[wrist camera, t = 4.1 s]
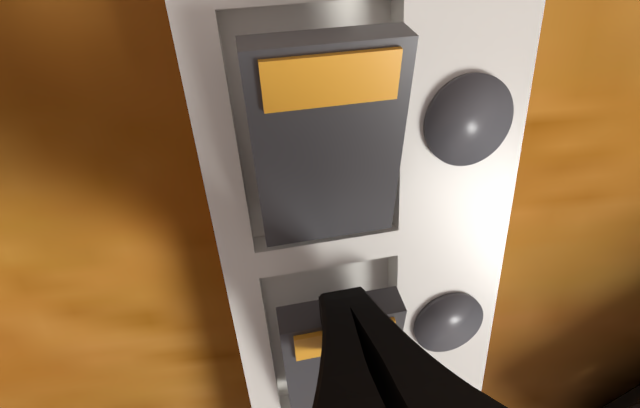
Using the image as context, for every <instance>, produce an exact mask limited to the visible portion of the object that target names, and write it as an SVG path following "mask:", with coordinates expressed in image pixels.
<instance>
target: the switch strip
mask: <svg viewBox="0 0 640 408" xmlns="http://www.w3.org/2000/svg"><path fill="white" fill-rule="evenodd" d="M165 4H166V9H167V13H168V18H169V23H170V27H171V32H172V37H173V41H174V46H175V51H176V55H177V60H178V65H179V70H180V74H181V79H182V84H183V88H184V93H185V98H186V102H187V107H188V112H189V116H190V121H191V126H192V130H193V135H194V140H195V145H196V149H197V154H198V159H199V163H200V168H201V173H202V177H203V182H204V187H205V191H206V196H207V201H208V205H209V210H210V215H211V220H212V224H213V229H214V234H215V238H216V243H217V248H218V252H219V257H220V262H221V266H222V271H223V276H224V280H225V285H226V290H227V295H228V299H229V304H230V309H231V313H232V318H233V323H234V327H235V332H236V337H237V341H238V346H239V351H240V355H241V360H242V365H243V370H244V374H245V379H246V384H247V388H248V393H249V398H250V402H251V407H252V408H291V407H290V400H289V394H288V387H287V381H286V374H285V368H284V361H283V354H282V348H281V341H280V335H279V328H278V320H277V313H276V307H280V306H286V305H292V304H297V303H303V302H308V301H314V300H319V298H318V297H319V296H320V295H321V294H322V293H327V292H333V291H338V290H344V289H350V288H355V287H362V288H363V289H364V290H365V291H370V290H375V289H381V288H387V287H392V286H396V287H397V289H398V291H399V294H400V296H401V298H402V301H403V303H404V305H405V307H406V310H407V313H406V318H405V323H404V328H403V331H404V332H405V333H406V334H407V335H408V336H409V337H410V338H411V339H413V340H414V341H415V342H416V343H417V344H418V345H419V346H420V347H422V348H423V349H424V350H425V351H426V352H427V353H429V354H430V355H431V356H432V357H434V358H435V359H436V360H437V361H439V362H440V363H441V364H442V365H444V366H445V367H446V368H448V369H449V370H450V371H452V372H453V373H454V374H456V375H457V376H459V377H460V378H462V379H463V380H464V381H466V382H467V383H469V384H470V385H472V386H473V387H475V388H476V389H478V390H480V391H481V390H482V384H483V378H484V372H485V365H486V359H487V353H488V347H489V341H490V335H491V329H492V323H493V317H494V311H495V305H496V298H497V292H498V286H499V280H500V274H501V268H502V262H503V256H504V250H505V244H506V238H507V232H508V225H509V219H510V213H511V207H512V201H513V195H514V189H515V183H516V177H517V171H518V165H519V158H520V152H521V146H522V140H523V134H524V128H525V122H526V116H527V110H528V104H529V98H530V92H531V85H532V79H533V73H534V67H535V61H536V55H537V49H538V43H539V37H540V31H541V25H542V19H543V12H544V6H545V0H165ZM393 22H404V23H405V24H406V25H407V26H408V27H410V28H411V29H412V30H413V31H414V32H415V33H416V34H417V35H419V38H418V45H417V52H416V59H415V66H414V73H413V80H412V87H411V94H410V101H409V108H408V115H407V122H406V129H405V136H404V143H403V150H402V157H401V164H400V171H399V178H398V185H397V192H396V199H395V206H394V213H393V220H392V227H391V228H387V229H381V230H374V231H368V232H362V233H355V234H349V235H342V236H336V237H330V238H323V239H317V240H311V241H304V242H298V243H292V244H285V245H279V246H273V247H267V245H266V239H265V232H264V226H263V219H262V212H261V206H260V199H259V193H258V186H257V179H256V173H255V166H254V159H253V153H252V146H251V140H250V133H249V126H248V120H247V113H246V107H245V100H244V93H243V87H242V80H241V73H240V67H239V60H238V54H237V46H236V38H235V36H238V35H250V34H262V33H274V32H286V31H298V30H309V29H321V28H333V27H345V26H357V25H369V24H381V23H393Z"/></svg>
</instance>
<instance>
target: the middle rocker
mask: <svg viewBox="0 0 640 408" xmlns="http://www.w3.org/2000/svg"><path fill="white" fill-rule="evenodd" d="M366 292H367V293H368V295H369V296H370V297H371V298H372V299H373V300H374V301H375V303H376V304H377V305H378V306H379V307H380V308H381V309H382V310H383V311H384V312H385V313H386V314H387V315H388V316H389V317H390V318H391V319H392V320H393V321H394V322H395V323H396V324H397V325H398V326H399V327H400V328H401V329H402V330H403V328H404V323H405V318H406V313H407V310H406V307H405V305H404V303H403V301H402V298H401V296H400V294H399V291H398V289H397V287H396V286H392V287H387V288H381V289H375V290H370V291H366ZM276 313H277V320H278V328H279V335H280V341H281V348H282V354H283V361H284V368H285V374H286V381H287V387H288V394H289V400H290V407H291V408H312V406H313V401H314V396H315V392H316V386H317V380H318V374H319V367H320V358H321V350H322V325H321V320H320V310H319V300H314V301H308V302H303V303H297V304H292V305H286V306H280V307H276Z"/></svg>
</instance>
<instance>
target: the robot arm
mask: <svg viewBox="0 0 640 408" xmlns="http://www.w3.org/2000/svg"><path fill="white" fill-rule="evenodd" d="M318 298H319V310H320V320H321V325H322V350H321V358H320V367H319V374H318V380H317V386H316V392H315V396H314V401H313V406H312V408H507V407H506V406H504V405H502V404H501V403H499V402H497V401H496V400H494V399H493V398H491V397H489V396H488V395H486V394H484V393H483V392H481V391H480V390H478V389H476V388H475V387H473V386H472V385H470V384H469V383H467V382H466V381H464V380H463V379H462V378H460V377H459V376H457V375H456V374H454V373H453V372H452V371H450V370H449V369H448V368H446V367H445V366H444V365H442V364H441V363H440V362H439V361H437V360H436V359H435V358H434V357H432V356H431V355H430V354H429V353H427V352H426V351H425V350H424V349H423V348H422V347H420V346H419V345H418V344H417V343H416V342H415V341H414V340H413V339H411V338H410V337H409V336H408V335H407V334H406V333H405V332H404V331H403V330H402V329H401V328H400V327H399V326H398V325H397V324H396V323H395V322H394V321H393V320H392V319H391V318H390V317H389V316H388V315H387V314H386V313H385V312H384V311H383V310H382V309H381V308H380V307H379V306H378V305H377V304H376V303H375V301H374V300H373V299H372V298H371V297H370V296H369V295H368V293H367V292H366V291H365V290H364V289H363V288H362V287H355V288H350V289H344V290H338V291H333V292H327V293H322V294H321V295H320V296H319V297H318Z"/></svg>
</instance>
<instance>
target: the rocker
mask: <svg viewBox="0 0 640 408" xmlns="http://www.w3.org/2000/svg"><path fill="white" fill-rule="evenodd" d="M235 38H236V46H237V54H238V60H239V67H240V73H241V80H242V87H243V93H244V100H245V107H246V113H247V120H248V126H249V133H250V140H251V146H252V153H253V159H254V166H255V173H256V179H257V186H258V193H259V199H260V206H261V212H262V219H263V226H264V232H265V239H266V245H267V247H273V246H279V245H285V244H292V243H298V242H304V241H311V240H317V239H323V238H330V237H336V236H342V235H349V234H355V233H362V232H368V231H374V230H381V229H387V228H391V227H392V220H393V213H394V206H395V199H396V192H397V185H398V178H399V171H400V164H401V157H402V150H403V143H404V136H405V129H406V122H407V115H408V108H409V101H410V94H411V87H412V80H413V73H414V66H415V59H416V52H417V45H418V38H419V35H417V34H416V33H415V32H414V31H413V30H412V29H411V28H410V27H408V26H407V25H406V24H405V23H404V22H393V23H381V24H369V25H357V26H345V27H333V28H321V29H309V30H298V31H286V32H274V33H262V34H250V35H238V36H235Z"/></svg>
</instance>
